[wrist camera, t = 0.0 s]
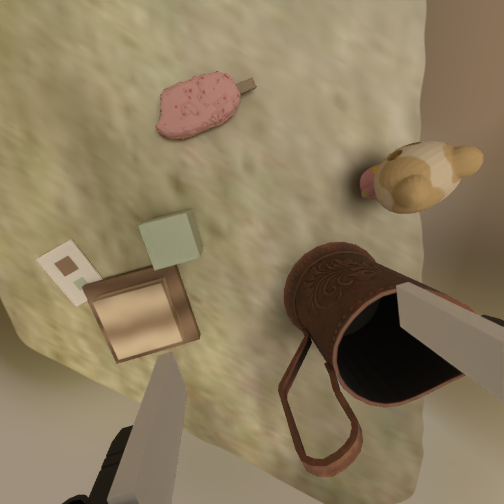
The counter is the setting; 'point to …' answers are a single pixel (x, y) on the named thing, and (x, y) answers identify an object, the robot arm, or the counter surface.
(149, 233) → the sage brick
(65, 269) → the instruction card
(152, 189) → the counter surface
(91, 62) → the counter surface
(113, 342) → the base brick
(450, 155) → the toy
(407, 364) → the cup holder
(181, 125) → the ice cream bar
